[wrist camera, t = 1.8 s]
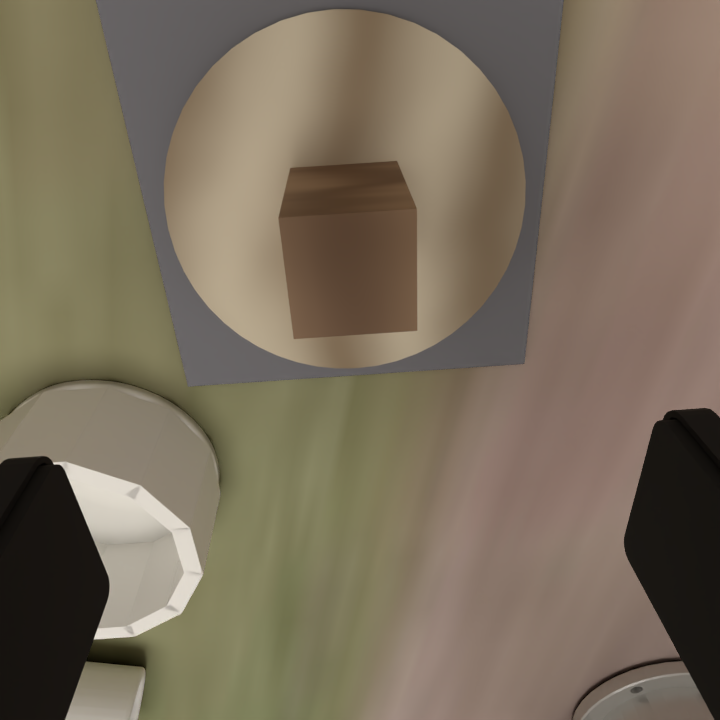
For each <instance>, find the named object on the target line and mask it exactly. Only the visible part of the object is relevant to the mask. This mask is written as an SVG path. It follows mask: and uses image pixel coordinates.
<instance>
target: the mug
mask: <svg viewBox="0 0 720 720" xmlns="http://www.w3.org/2000/svg"><path fill="white" fill-rule="evenodd" d="M144 684H145V669H144V668H143V667H138V666H128V665H118V664H108V663H98V662H88V661H86V662H85V665H84V668H83V671H82V674H81V677H80V679H79V682H78V685H77V688H76V691H75V693H74V696H73V699H72V702H71V705H70V708H69V710H68V713H67V716H66V719H65V720H138V716H139V711H140V706H141V701H142V696H143V690H144Z"/></svg>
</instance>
